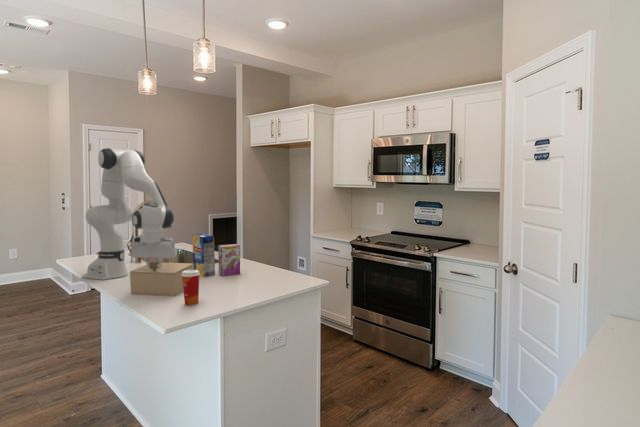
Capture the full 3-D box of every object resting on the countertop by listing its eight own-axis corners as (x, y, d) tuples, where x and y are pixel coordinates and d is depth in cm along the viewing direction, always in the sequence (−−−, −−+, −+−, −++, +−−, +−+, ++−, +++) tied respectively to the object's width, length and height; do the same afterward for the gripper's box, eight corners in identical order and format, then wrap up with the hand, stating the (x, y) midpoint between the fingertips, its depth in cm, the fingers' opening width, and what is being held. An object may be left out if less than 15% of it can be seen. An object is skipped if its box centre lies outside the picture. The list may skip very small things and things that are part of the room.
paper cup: (184, 300, 184) (183, 269, 183) (202, 300, 185) (201, 269, 183) (180, 306, 176) (179, 273, 175) (198, 305, 177) (197, 273, 175)
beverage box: (204, 277, 226) (202, 236, 224) (193, 273, 233) (192, 234, 231) (215, 274, 231) (214, 235, 228) (204, 271, 238) (203, 233, 236)
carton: (130, 294, 194) (129, 273, 193) (153, 282, 214) (153, 263, 213) (175, 296, 191) (174, 274, 190) (194, 284, 211) (193, 265, 210)
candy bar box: (221, 276, 227) (220, 246, 225) (218, 274, 231) (217, 245, 229) (240, 273, 233) (240, 244, 231) (237, 272, 237) (236, 243, 235)
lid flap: (129, 272, 193) (129, 262, 193) (153, 263, 213) (152, 254, 212) (174, 274, 190) (174, 264, 189) (193, 264, 210) (193, 255, 209)
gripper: (177, 237, 194) (178, 266, 195) (136, 236, 196) (138, 265, 198) (171, 239, 187) (172, 269, 189) (128, 238, 190) (130, 268, 192)
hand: (154, 267), depth 193 cm, fingers closed on lid flap, 3 cm apart
